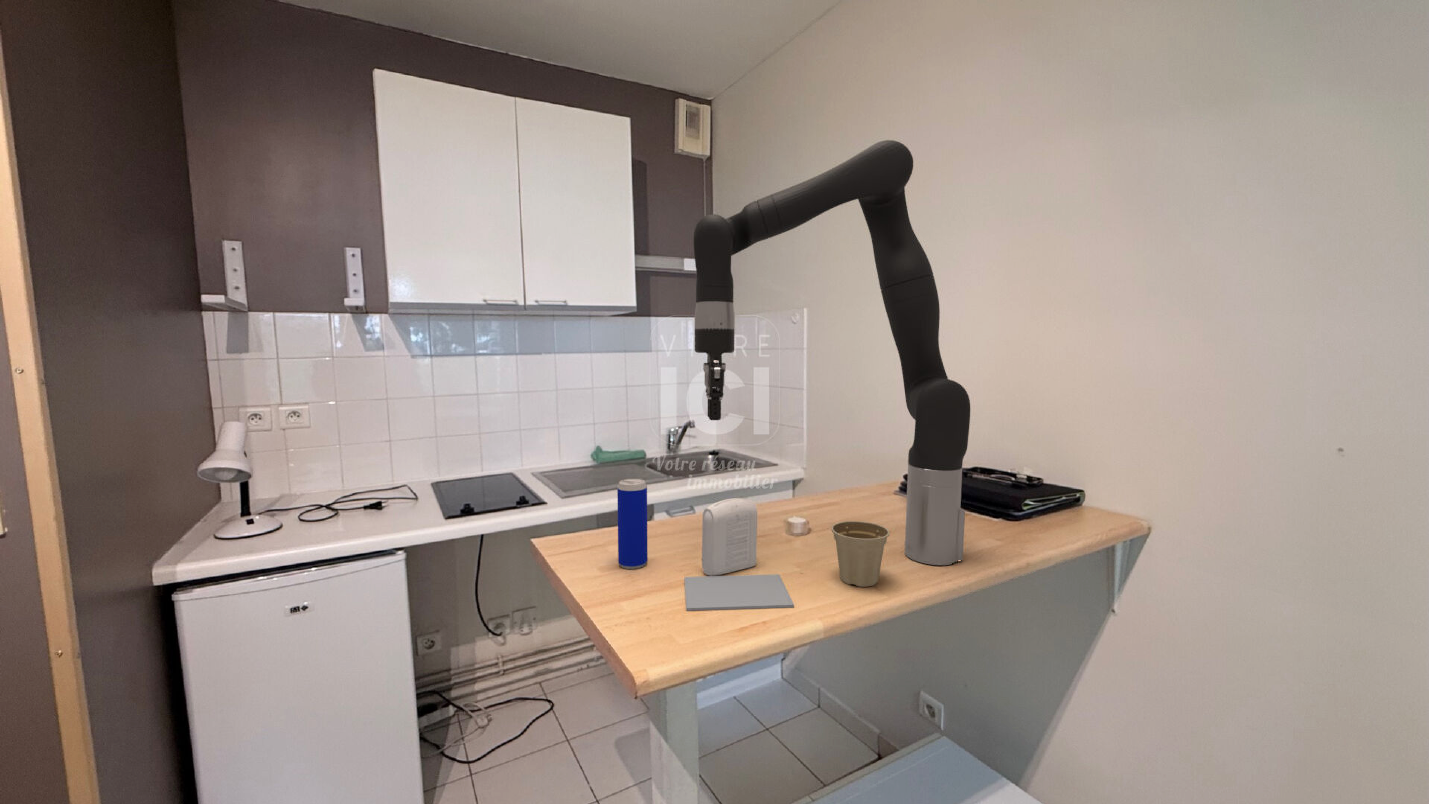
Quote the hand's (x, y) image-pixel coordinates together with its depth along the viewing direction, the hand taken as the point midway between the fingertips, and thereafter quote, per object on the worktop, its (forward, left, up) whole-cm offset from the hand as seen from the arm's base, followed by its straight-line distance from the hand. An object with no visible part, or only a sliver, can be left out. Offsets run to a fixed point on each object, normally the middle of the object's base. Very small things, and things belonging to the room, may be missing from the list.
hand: (714, 418), depth 103 cm
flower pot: (-23, +17, -25) cm, 38 cm away
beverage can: (+15, +8, -25) cm, 31 cm away
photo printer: (-2, +11, -25) cm, 28 cm away
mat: (-2, +21, -25) cm, 32 cm away
